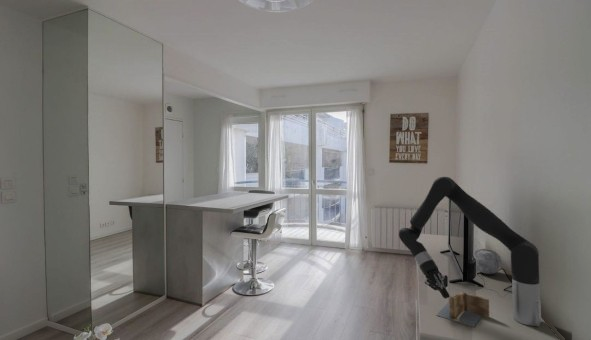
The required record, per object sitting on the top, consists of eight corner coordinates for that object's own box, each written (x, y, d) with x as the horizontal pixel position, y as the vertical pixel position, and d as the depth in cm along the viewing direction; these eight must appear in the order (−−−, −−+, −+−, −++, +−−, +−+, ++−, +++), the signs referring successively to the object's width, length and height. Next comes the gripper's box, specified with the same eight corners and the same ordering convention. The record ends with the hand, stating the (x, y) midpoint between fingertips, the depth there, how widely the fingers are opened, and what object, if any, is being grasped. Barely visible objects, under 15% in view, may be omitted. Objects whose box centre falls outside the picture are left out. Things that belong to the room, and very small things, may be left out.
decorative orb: (502, 271, 183) (501, 247, 182) (501, 279, 171) (500, 253, 171) (474, 267, 191) (473, 244, 191) (471, 274, 180) (470, 250, 180)
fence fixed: (489, 316, 132) (489, 298, 132) (488, 318, 130) (488, 300, 130) (462, 308, 139) (462, 291, 139) (461, 310, 138) (461, 293, 138)
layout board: (484, 311, 136) (484, 311, 136) (474, 327, 124) (473, 326, 124) (448, 302, 146) (448, 301, 146) (436, 315, 134) (436, 314, 134)
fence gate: (461, 308, 138) (460, 290, 138) (465, 310, 136) (464, 291, 136) (449, 316, 131) (448, 297, 131) (453, 318, 130) (452, 299, 130)
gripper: (419, 261, 142) (440, 297, 131) (440, 257, 147) (463, 291, 135) (411, 268, 147) (431, 304, 136) (432, 264, 152) (453, 298, 140)
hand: (447, 297), depth 136 cm, fingers closed
